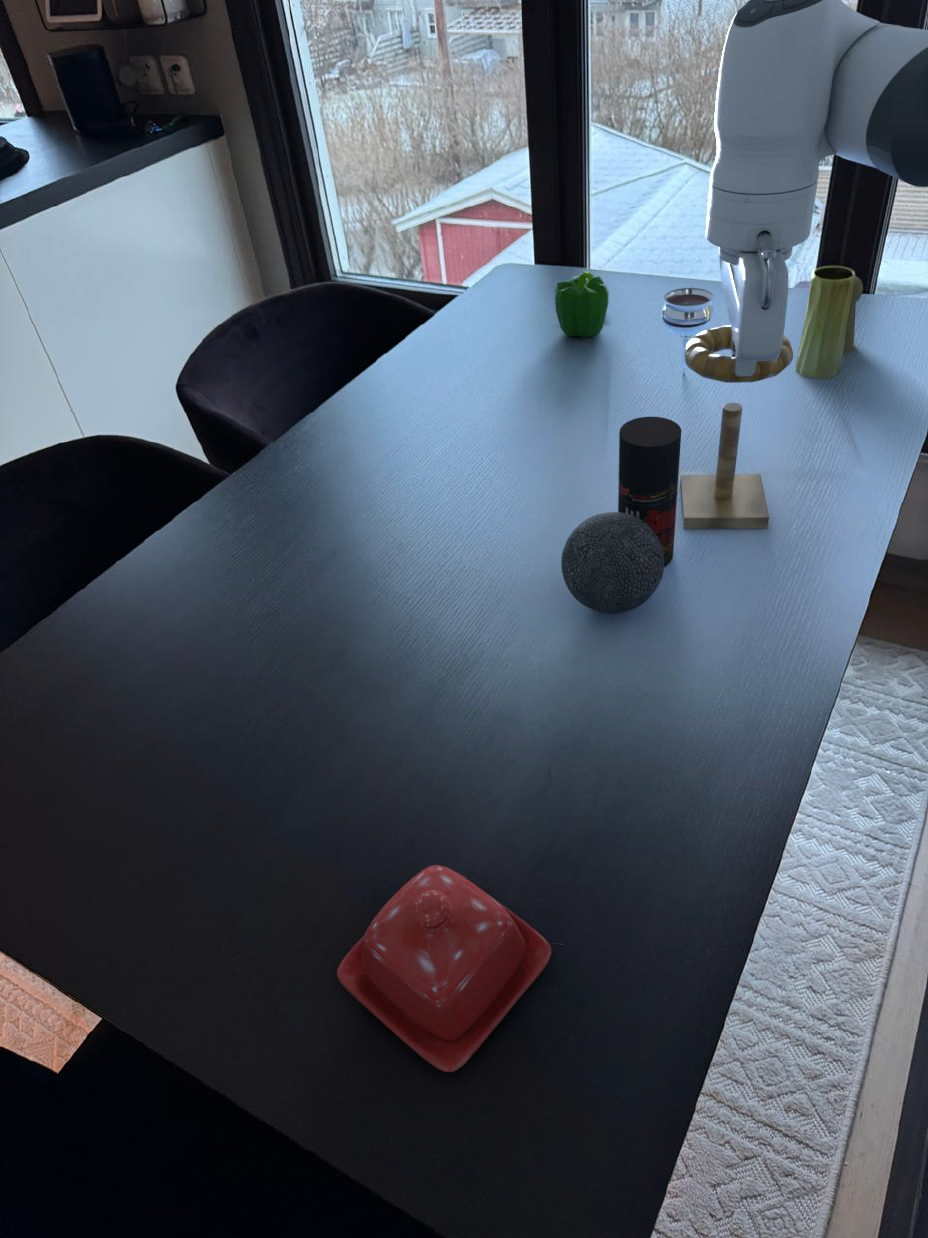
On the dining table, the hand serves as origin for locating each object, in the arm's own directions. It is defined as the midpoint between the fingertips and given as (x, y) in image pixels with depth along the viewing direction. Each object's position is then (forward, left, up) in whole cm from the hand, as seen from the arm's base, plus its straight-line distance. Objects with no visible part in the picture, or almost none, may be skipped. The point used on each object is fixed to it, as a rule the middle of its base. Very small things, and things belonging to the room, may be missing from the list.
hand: (742, 364), depth 86 cm
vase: (-15, -36, -19) cm, 43 cm away
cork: (-18, -43, -19) cm, 50 cm away
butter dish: (+23, +54, -19) cm, 62 cm away
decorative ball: (+12, +14, -19) cm, 26 cm away
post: (0, -4, -19) cm, 19 cm away
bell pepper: (+18, -54, -19) cm, 60 cm away
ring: (0, -4, -1) cm, 4 cm away
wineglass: (+3, -36, -19) cm, 41 cm away
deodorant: (+9, +6, -19) cm, 22 cm away
